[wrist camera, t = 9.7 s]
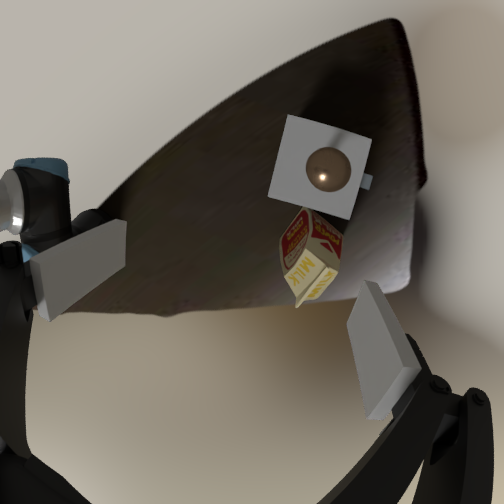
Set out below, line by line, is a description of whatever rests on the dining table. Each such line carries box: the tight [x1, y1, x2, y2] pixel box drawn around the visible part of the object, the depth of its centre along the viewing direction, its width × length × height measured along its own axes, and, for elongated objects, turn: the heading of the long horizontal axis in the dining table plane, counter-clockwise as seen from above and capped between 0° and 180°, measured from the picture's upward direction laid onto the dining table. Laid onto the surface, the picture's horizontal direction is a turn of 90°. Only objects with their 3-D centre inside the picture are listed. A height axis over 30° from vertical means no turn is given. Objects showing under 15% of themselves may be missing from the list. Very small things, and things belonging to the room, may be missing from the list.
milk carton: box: [279, 206, 343, 308], centre depth 41 cm, size 9×9×20 cm
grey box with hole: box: [268, 115, 373, 220], centre depth 39 cm, size 13×11×14 cm
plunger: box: [305, 147, 351, 192], centre depth 34 cm, size 8×8×24 cm
